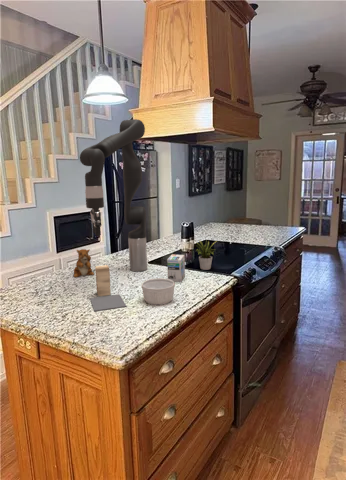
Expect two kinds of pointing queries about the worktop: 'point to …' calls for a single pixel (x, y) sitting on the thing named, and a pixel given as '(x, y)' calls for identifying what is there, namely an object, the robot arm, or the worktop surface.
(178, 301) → the worktop surface
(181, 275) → the light bulb box
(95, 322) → the worktop surface
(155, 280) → the ramekin
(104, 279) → the maple block
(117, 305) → the slate mat
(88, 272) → the stuffed squirrel
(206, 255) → the house plant
